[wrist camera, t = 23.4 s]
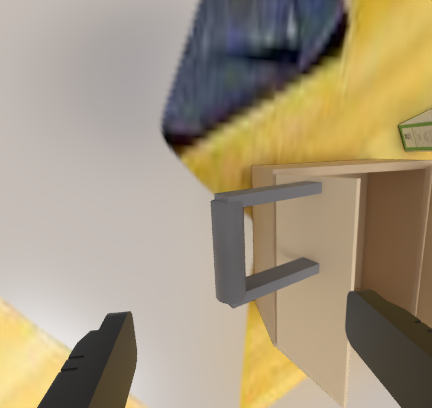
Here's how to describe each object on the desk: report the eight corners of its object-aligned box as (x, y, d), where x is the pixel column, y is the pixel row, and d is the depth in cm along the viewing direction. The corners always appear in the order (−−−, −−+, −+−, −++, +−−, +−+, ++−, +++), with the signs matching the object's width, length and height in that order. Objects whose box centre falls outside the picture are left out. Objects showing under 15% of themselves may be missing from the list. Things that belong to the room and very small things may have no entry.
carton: (251, 165, 31) (272, 169, 23) (371, 158, 32) (434, 160, 24) (254, 301, 35) (274, 347, 26) (362, 290, 36) (414, 331, 28)
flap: (279, 173, 22) (185, 184, 18) (360, 178, 16) (246, 196, 12) (279, 346, 26) (201, 390, 22) (346, 405, 20) (254, 485, 15)
